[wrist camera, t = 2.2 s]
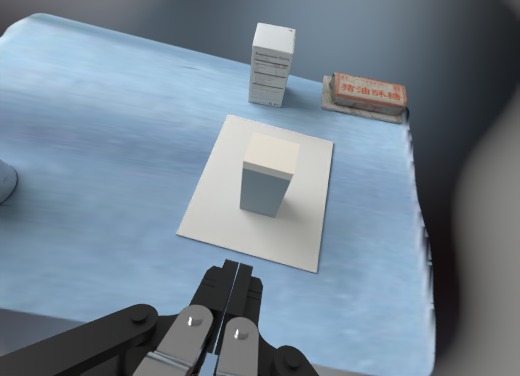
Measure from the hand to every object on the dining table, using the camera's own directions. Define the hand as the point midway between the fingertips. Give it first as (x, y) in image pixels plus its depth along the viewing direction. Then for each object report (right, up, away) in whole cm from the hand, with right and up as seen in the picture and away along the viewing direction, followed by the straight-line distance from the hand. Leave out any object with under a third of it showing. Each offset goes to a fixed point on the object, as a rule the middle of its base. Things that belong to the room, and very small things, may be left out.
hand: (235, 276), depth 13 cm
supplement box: (+3, +25, +41) cm, 49 cm away
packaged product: (+24, +24, +44) cm, 56 cm away
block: (+1, +2, +28) cm, 28 cm away
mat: (+2, +6, +30) cm, 31 cm away
